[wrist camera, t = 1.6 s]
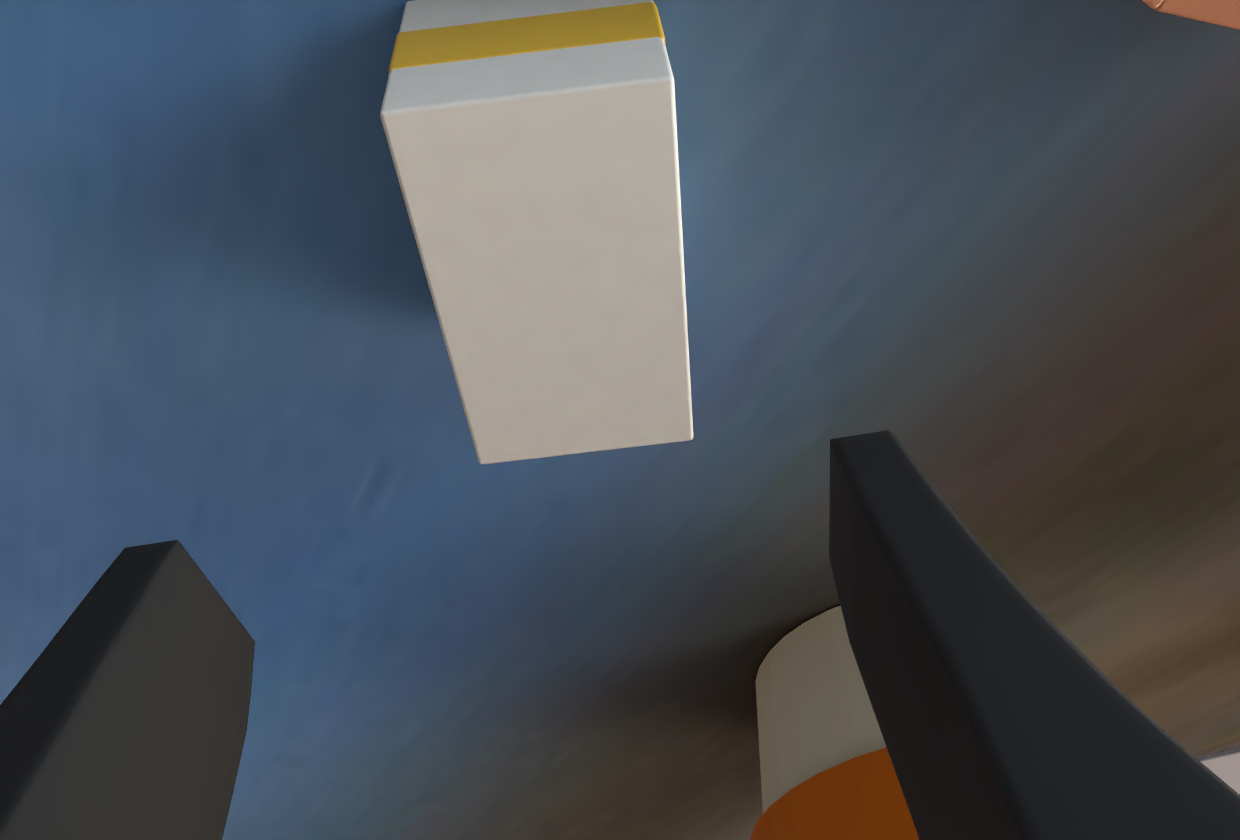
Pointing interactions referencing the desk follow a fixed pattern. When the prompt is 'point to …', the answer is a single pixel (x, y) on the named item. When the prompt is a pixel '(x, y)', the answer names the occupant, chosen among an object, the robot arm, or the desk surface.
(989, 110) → the desk surface
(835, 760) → the reusable coffee cup
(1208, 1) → the pan
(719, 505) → the desk surface
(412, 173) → the tea packet
